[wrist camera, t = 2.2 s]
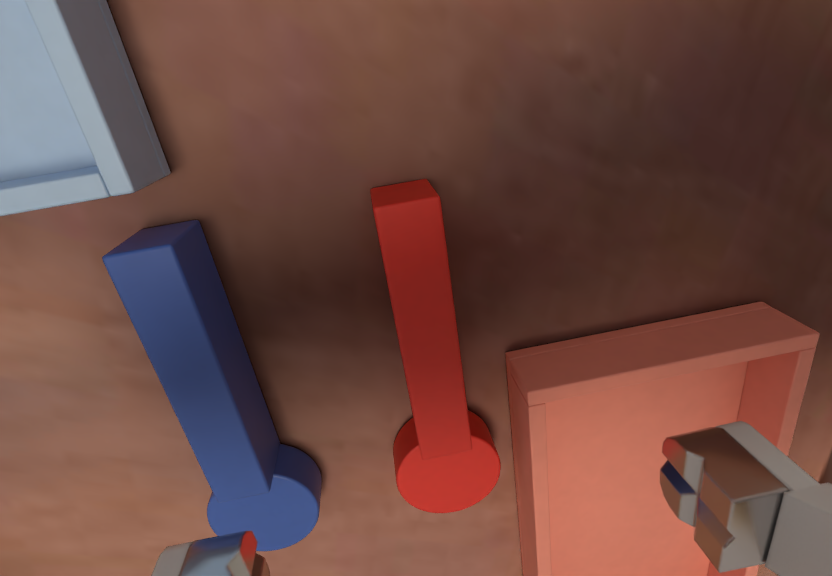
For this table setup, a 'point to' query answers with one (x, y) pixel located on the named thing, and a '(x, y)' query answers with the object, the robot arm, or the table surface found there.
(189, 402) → the blue spoon
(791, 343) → the red tray
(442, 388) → the red spoon
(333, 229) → the table surface
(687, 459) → the robot arm
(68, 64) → the blue tray
